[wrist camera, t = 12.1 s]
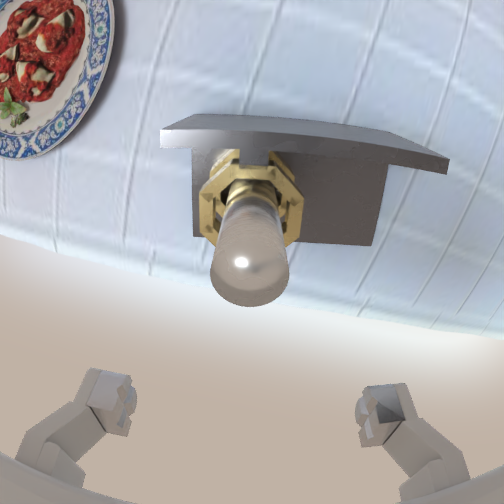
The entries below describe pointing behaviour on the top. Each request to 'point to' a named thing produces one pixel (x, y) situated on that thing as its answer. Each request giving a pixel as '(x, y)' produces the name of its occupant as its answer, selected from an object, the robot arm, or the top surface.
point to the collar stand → (295, 171)
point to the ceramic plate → (49, 69)
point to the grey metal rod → (250, 246)
